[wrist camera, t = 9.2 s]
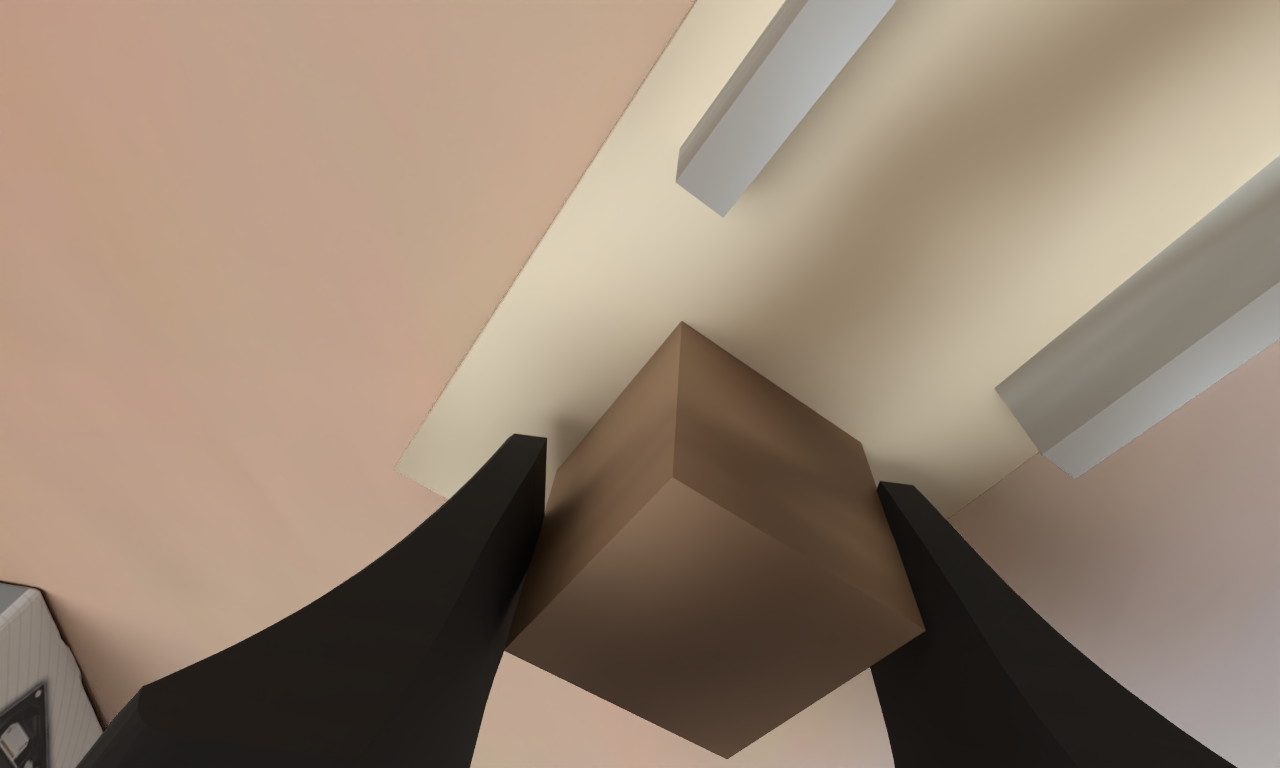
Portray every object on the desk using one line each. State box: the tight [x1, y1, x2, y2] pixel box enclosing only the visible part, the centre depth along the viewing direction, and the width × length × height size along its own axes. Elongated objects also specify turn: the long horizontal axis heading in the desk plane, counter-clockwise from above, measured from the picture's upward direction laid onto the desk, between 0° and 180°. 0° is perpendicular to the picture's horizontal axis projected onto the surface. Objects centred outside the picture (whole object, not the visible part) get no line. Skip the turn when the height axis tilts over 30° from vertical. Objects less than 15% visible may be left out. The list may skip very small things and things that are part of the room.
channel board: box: [393, 0, 1280, 520], centre depth 10 cm, size 10×26×4 cm, turn 145°
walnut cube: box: [504, 321, 926, 759], centre depth 12 cm, size 4×4×4 cm
